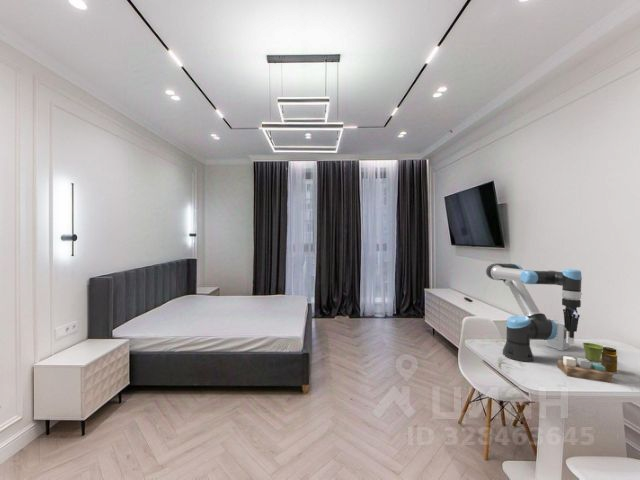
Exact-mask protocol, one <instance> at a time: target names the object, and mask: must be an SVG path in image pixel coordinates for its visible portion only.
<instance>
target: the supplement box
mask: <svg viewBox="0 0 640 480" xmlns="http://www.w3.org/2000/svg"><path fill="white" fill-rule="evenodd" d="M551 320H552V321H554V322H555V324H556V326H557V335H556V337H555V338H553V339H551V340H546V347H549V348H552V349H556V350H560V351H562V352H563V351H565V350H566V351H567V350H569V349H570V345H571V344H568V343H566V339H567V330H566V328H565V324H564V321H563V320H557V319H551Z"/></svg>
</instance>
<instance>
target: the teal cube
mask: <svg viewBox="0 0 640 480" xmlns="http://www.w3.org/2000/svg"><path fill="white" fill-rule="evenodd" d="M590 364H591V367H592V368H593V369H594V370H599V371H605V367H604V366H602V365H601V364H600V363H593V362H590Z"/></svg>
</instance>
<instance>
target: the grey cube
mask: <svg viewBox="0 0 640 480" xmlns="http://www.w3.org/2000/svg"><path fill="white" fill-rule="evenodd" d="M576 362H577V366H578V367H580V368H585V369H590V364H591V360H587V359H586V358H580V357H577V358H576Z"/></svg>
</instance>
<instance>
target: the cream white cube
mask: <svg viewBox="0 0 640 480" xmlns="http://www.w3.org/2000/svg"><path fill="white" fill-rule="evenodd" d="M562 360H563V364H564V365H565V366H571V367H576V362H577V359H576V358H574V357H573V356H566V355H563V357H562Z"/></svg>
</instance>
